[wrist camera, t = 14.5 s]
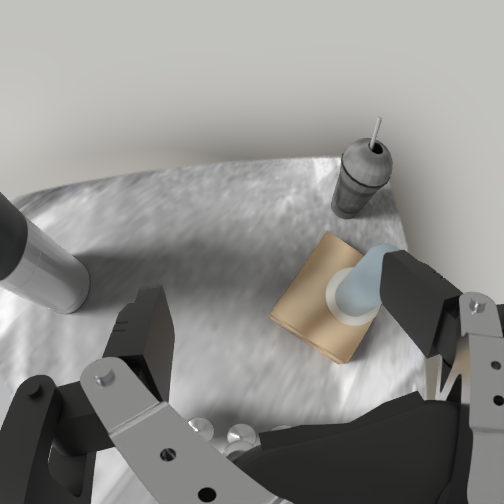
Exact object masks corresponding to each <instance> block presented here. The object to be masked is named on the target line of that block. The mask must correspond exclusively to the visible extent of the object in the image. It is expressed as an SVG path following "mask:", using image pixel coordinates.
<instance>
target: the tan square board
mask: <svg viewBox="0 0 504 504" xmlns="http://www.w3.org/2000/svg"><path fill="white" fill-rule="evenodd" d="M363 257H364V255H362V254H361V253H359V252H358V251H357V250H355V249H354V248H352V247H351V246H349V245H348V244H346V243H345V242H343V241H342V240H340V239H339V238H337V237H336V236H334V235H333V234H331V233H330V232H328V231H327V232H326V234H325V235H324V237H323V238H322V240H321V241H320V243H319V244H318V245H317V247H316V248H315V250H314V251H313V253H312V254H311V256H310V257H309V259H308V260H307V262H306V263H305V264H304V266H303V267H302V269H301V270H300V272H299V273H298V275H297V276H296V277H295V279H294V280H293V282H292V283H291V284H290V286H289V287H288V289H287V290H286V292H285V293H284V294H283V296H282V297H281V299H280V300H279V301H278V303H277V304H276V306H275V307H274V308H273V310H272V311H271V313H270V315H269V318H271V319H272V320H274V321H275V322H276V323H278V324H279V325H281V326H282V327H284V328H285V329H287V330H288V331H289V332H291V333H292V334H294V335H295V336H297V337H298V338H300V339H301V340H303V341H304V342H306V343H307V344H309V345H310V346H312V347H313V348H315V349H316V350H317V351H319V352H320V353H322V354H323V355H325V356H326V357H328V358H330V359H331V360H333V361H334V362H336V363H337V364H345V363H348V362H349V360H350V358H351V357H352V355H353V354H354V352H355V350H356V349H357V347H358V345H359V344H360V342H361V340H362V339H363V337H364V335H365V333H366V332H367V330H368V328H369V326H370V325H371V323H372V321H373V319H374V318H375V316H376V315H377V313H378V311H379V309H380V307H381V305H382V304H380V305H379V306H377V307H375V308H374V309H372V310H371V311H369V312H367V313H366V314H364V315H362V316H358V317H352V316H349V315H346V314H345V313H343V312H342V311H341V310H340V309H339V307H338V305H337V303H336V299H335V293H336V289H337V287H338V285H339V284H340V283H341V282H342V280H343V279H344V278H345V277H346V276H347V275H348V274H349V273H350V272H351V270H352V269H353V268H354V267H355V266H356V265H357V264H358V263H359V261H360V260H361V259H362V258H363Z"/></svg>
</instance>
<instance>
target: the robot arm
mask: <svg viewBox="0 0 504 504" xmlns="http://www.w3.org/2000/svg"><path fill="white" fill-rule="evenodd" d="M0 287H1V288H4V289H6V290H8V291H10V292H12V293H14V294H16V295H19V296H21V297H23V298H25V299H27V300H30V301H32V302H34V303H36V304H39V305H41V306H43V307H45V308H48V309H50V310H53V311H55V312H58V313H61V314H68V313H72V312H74V311H76V310H77V309H78V308H79V307H80V306H81V305H82V304H83V303H84V301H85V300H86V297H87V295H88V292H89V287H90V279H89V274H88V271H87V269H86V268H85V266H84V265H83V264H82V263H81V262H80V261H78V260H77V259H76V258H75V257H73V256H72V255H71V254H70V253H68V252H67V251H66V250H65V249H63V248H62V247H61V246H60V245H58V244H57V243H56V242H55V241H54V240H52V239H51V238H50V237H49V236H48V235H46V234H45V233H44V232H43V231H42V230H40V229H39V228H38V227H37V226H36V225H35V224H33V223H32V222H31V221H30V220H29V219H28V218H26V217H25V216H24V215H23V214H22V213H21V212H20V211H19V210H18V209H17V208H15V207H14V206H13V205H12V204H11V203H10V201H9V200H8V199H7V198H6V197H5V196H4V195H3V194H1V192H0ZM379 293H380V299H381V302H382V304H383V305H384V307H385V308H386V309H387V310H388V311H389V313H390V314H391V315H392V316H393V317H394V318H395V320H396V321H397V322H398V323H399V324H400V326H401V327H402V328H403V329H404V330H405V332H406V333H407V334H408V335H409V337H410V338H411V339H412V340H413V341H414V343H415V344H416V345H417V346H418V348H419V349H420V350H421V351H422V353H423V354H424V355H425V356H426V358H430V357H433V356H435V355H438V354H440V355H441V359H440V362H439V369H438V380H437V389H436V397H435V400H423V398H422V397H421V395H420V394H419V392H418V391H415V392H413V393H410V394H407V395H405V396H402V397H399V398H396V399H393V400H391V401H388V402H385V403H383V404H381V405H380V406H378V407H376V408H375V409H373V410H371V411H370V412H368V413H366V414H364V415H363V416H361V417H359V418H357V419H356V420H354V421H352V422H350V423H345V424H326V425H300V426H296V427H291V428H286V429H280V430H275V431H269V432H263V433H259V437H260V443H261V445H258V446H256V447H254V448H251V449H249V450H247V451H245V452H243V453H241V454H240V455H238V456H237V457H235V458H234V459H232V460H231V461H230V460H228V459H227V458H226V457H225V456H224V455H222V454H221V453H220V452H219V451H218V450H217V449H216V448H214V447H213V446H212V445H211V444H210V443H209V442H208V441H207V440H206V439H204V438H203V437H202V436H201V435H200V434H199V433H198V432H197V431H196V430H195V429H194V428H193V427H192V426H191V425H190V424H189V423H187V422H186V421H185V420H184V419H183V418H182V417H181V416H180V415H179V414H178V413H177V412H176V411H175V410H174V409H173V408H172V407H171V406H170V405H169V404H168V402H169V391H170V380H171V369H172V359H173V350H174V341H175V334H174V326H173V322H172V318H171V315H170V311H169V308H168V304H167V300H166V296H165V293H164V289H163V287H162V286H153V287H145V288H140V290H139V293H138V295H137V298H136V301H135V303H130V304H127V305H126V306H125V307H124V308H123V309H122V310H121V311H120V312H119V315H118V317H117V320H116V322H115V323H116V324H115V325H114V327H113V330H112V331H113V332H112V333H111V335H110V338H109V340H108V343H107V346H106V349H105V351H104V354H103V357H102V358H101V359H98V360H96V361H94V362H92V363H91V364H89V365H88V366H87V367H86V368H85V369H84V371H83V372H82V374H81V377H80V381H78V382H74V383H70V384H67V385H63V386H59V387H57V386H56V384H55V383H54V381H53V380H52V379H51V378H50V377H49V376H46V375H36V376H33V377H30V378H28V379H27V380H25V381H24V382H23V383H22V384H21V385H20V386H19V388H18V389H17V391H16V393H15V396H14V398H13V400H12V403H11V405H10V407H9V410H8V412H7V415H6V418H5V420H4V422H3V425H2V428H1V430H0V504H91V496H92V485H93V476H94V467H95V460H96V452H97V451H100V450H104V449H108V448H112V447H117V449H118V450H119V452H120V453H121V455H122V456H123V458H124V459H125V460H126V462H127V463H128V465H129V466H130V467H131V469H132V470H133V472H134V473H135V474H136V476H137V477H138V478H139V480H140V481H141V482H142V483H143V485H144V486H145V487H146V488H147V490H148V491H149V492H150V493H151V495H152V496H153V497H154V498H155V500H156V501H157V502H158V503H159V504H504V304H501V305H496V304H495V302H494V301H493V300H492V299H491V298H489V297H488V296H486V295H484V294H481V293H477V292H467V293H464V294H463V293H462V292H461V291H460V290H459V289H457V288H456V287H455V286H454V285H453V284H451V283H450V282H449V281H447V280H446V279H445V278H443V276H441V275H440V274H439V273H436V271H435V270H434V269H432V268H431V267H430V266H429V265H427V264H425V263H422V262H420V261H418V260H417V259H415V258H414V257H413V256H412V255H410V254H409V253H408V252H406V251H405V250H399V251H393V252H387V253H385V254H384V256H383V261H382V271H381V280H380V290H379ZM51 445H52V448H51ZM50 449H51V452H50ZM49 454H50V457H49ZM48 458H49V461H48Z"/></svg>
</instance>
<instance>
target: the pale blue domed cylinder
mask: <svg viewBox="0 0 504 504" xmlns="http://www.w3.org/2000/svg"><path fill="white" fill-rule="evenodd" d="M393 251H399V249H397V248H396V247H394V246H392V245H388V244H379V245H376V246H374V247H372V248H371V249H370V250H369V251H368V252H367V253H366V254H365V256H364V257H363V258H362V259H361V260H360V261H359V263H358V264H357V265H356V266H355V267H354V268H353V269H352V270H351V272H350V273H349V274H348V275H347V276H346V277H345V278H344V279H343V280H342V282H341V283H340V284H339V285H338V287H337V289H336V293H335V299H336V303H337V305H338V307H339V309H340V310H341V311H342V312H343V313H345V314H346V315H349V316H352V317H358V316H362V315H364V314H366V313H367V312H369V311H371V310H372V309H374V308H375V307H377V306H379V305H380V304H382V302H381V299H380V293H379V290H380V280H381V271H382V261H383V256H384V254H385V253H387V252H393Z"/></svg>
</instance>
